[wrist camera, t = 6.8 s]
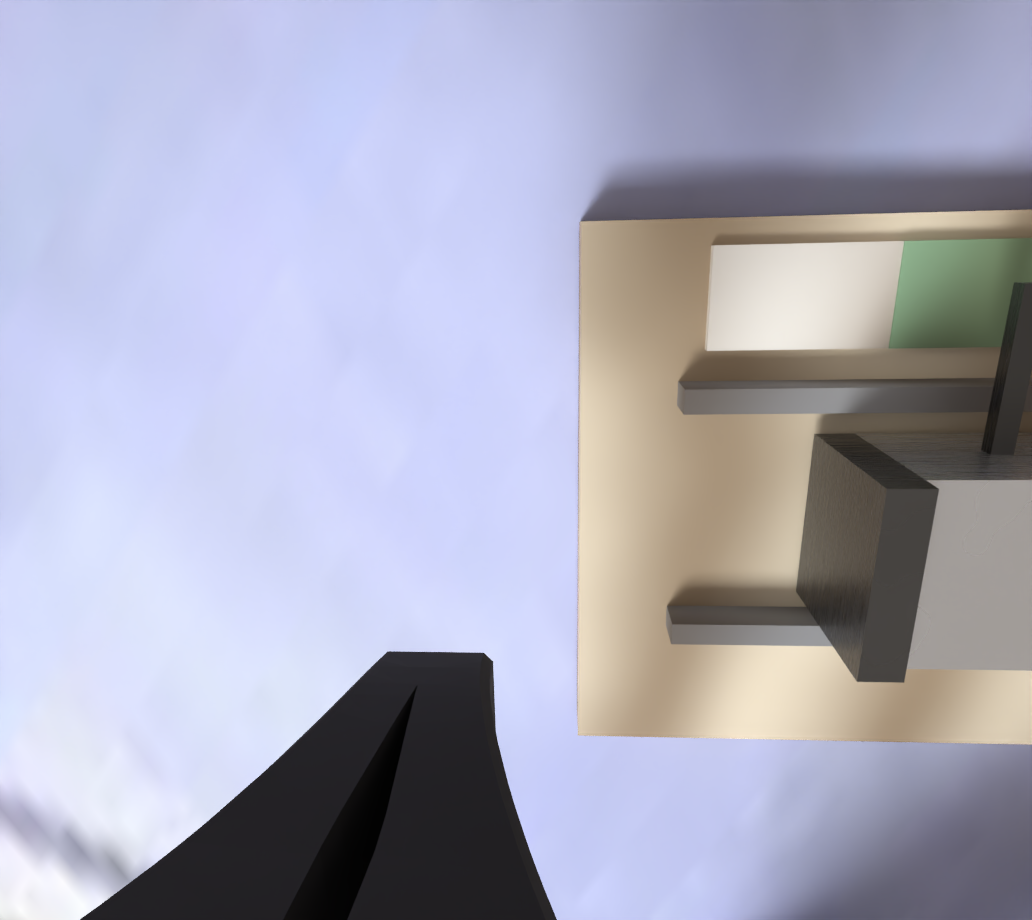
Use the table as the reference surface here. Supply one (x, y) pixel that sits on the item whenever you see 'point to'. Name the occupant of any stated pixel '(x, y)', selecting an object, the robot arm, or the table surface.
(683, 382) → the bench
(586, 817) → the table surface
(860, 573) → the block with upright rod
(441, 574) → the table surface
